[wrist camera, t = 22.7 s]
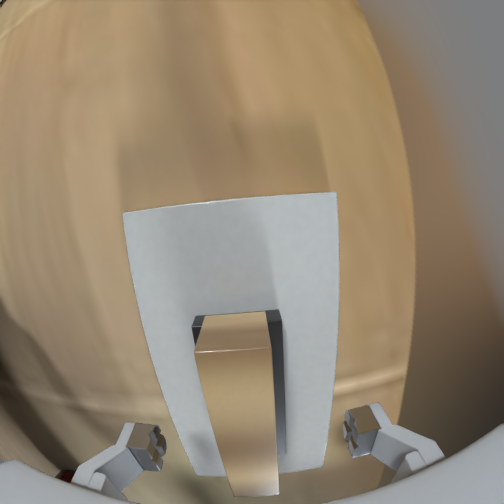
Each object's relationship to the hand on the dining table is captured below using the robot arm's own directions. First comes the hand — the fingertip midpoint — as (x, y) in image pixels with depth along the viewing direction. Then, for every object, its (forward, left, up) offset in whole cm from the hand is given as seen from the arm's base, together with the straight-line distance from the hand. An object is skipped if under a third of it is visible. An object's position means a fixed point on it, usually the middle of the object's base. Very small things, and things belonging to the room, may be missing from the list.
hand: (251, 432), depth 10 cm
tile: (+1, 0, -5) cm, 5 cm away
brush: (+1, 0, -4) cm, 4 cm away
